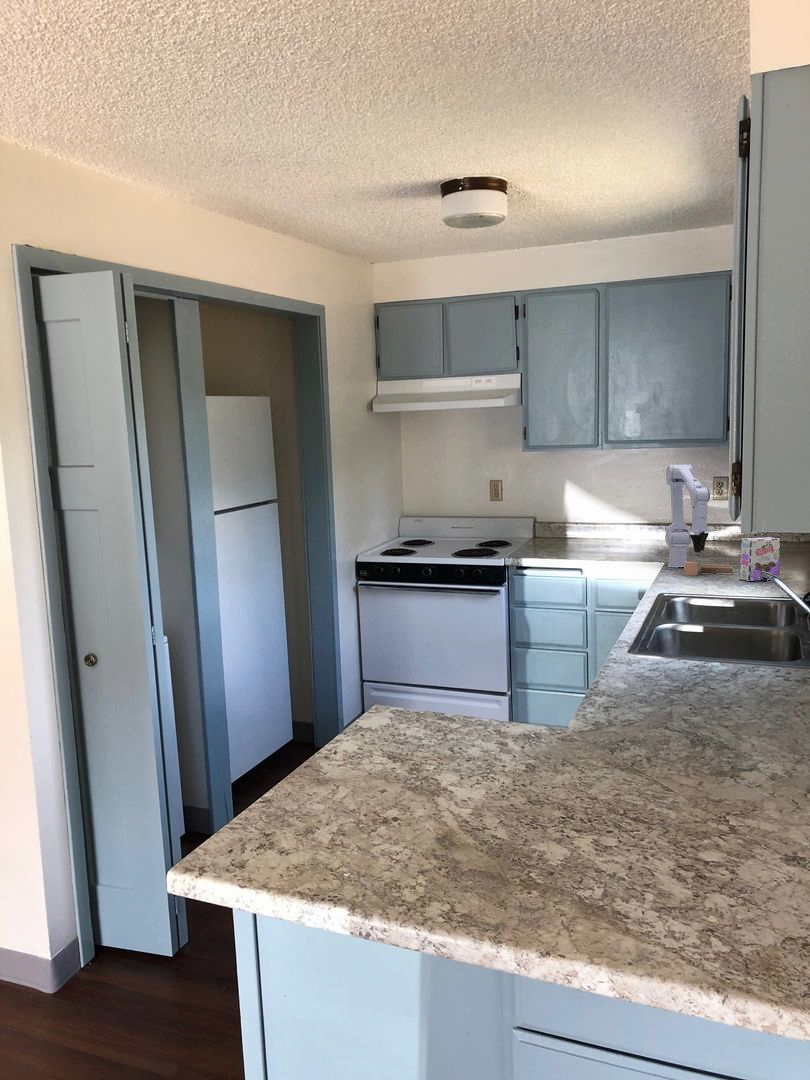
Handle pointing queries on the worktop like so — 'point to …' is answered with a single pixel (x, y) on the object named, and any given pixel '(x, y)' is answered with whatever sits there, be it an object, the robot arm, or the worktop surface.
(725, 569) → the walnut block
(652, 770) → the worktop surface
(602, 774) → the worktop surface
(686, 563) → the terracotta cube
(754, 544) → the candy box
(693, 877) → the worktop surface
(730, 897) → the worktop surface
